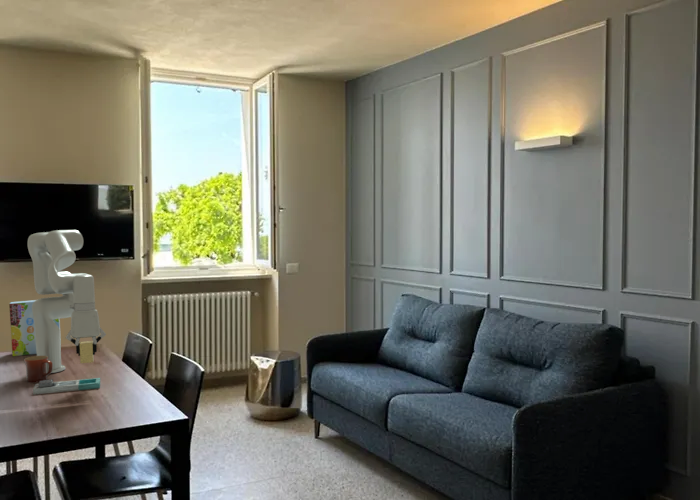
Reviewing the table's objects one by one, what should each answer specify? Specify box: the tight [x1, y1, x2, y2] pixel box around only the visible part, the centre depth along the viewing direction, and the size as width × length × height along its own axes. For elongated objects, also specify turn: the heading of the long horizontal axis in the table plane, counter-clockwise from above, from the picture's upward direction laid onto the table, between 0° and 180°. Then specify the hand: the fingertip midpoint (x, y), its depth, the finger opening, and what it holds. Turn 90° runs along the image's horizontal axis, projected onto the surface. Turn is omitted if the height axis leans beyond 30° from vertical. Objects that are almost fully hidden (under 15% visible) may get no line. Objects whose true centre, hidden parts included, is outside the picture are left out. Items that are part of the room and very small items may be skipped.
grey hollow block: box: [38, 379, 54, 388], centre depth 247 cm, size 4×4×4 cm
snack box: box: [8, 299, 62, 357], centre depth 321 cm, size 22×9×26 cm, turn 114°
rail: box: [32, 377, 101, 396], centre depth 250 cm, size 23×8×3 cm, turn 109°
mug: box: [23, 355, 53, 384], centre depth 262 cm, size 12×9×10 cm
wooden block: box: [79, 340, 95, 364], centre depth 251 cm, size 4×4×8 cm
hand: (86, 354), depth 251 cm, fingers closed on wooden block, 4 cm apart
